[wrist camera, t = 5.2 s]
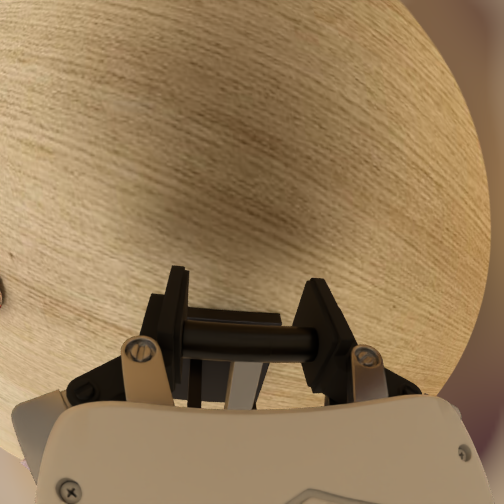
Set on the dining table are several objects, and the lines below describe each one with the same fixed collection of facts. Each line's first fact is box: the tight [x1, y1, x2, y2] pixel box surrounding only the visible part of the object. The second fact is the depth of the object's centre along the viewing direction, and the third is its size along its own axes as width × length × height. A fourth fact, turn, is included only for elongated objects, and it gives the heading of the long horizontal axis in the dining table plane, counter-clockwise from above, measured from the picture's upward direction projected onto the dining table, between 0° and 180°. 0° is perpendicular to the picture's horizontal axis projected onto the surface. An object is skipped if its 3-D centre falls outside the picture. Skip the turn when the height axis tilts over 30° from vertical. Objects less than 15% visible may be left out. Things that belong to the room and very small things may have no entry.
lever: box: [181, 320, 319, 410], centre depth 13 cm, size 15×5×2 cm, turn 171°
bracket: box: [171, 307, 282, 410], centre depth 19 cm, size 12×9×14 cm
